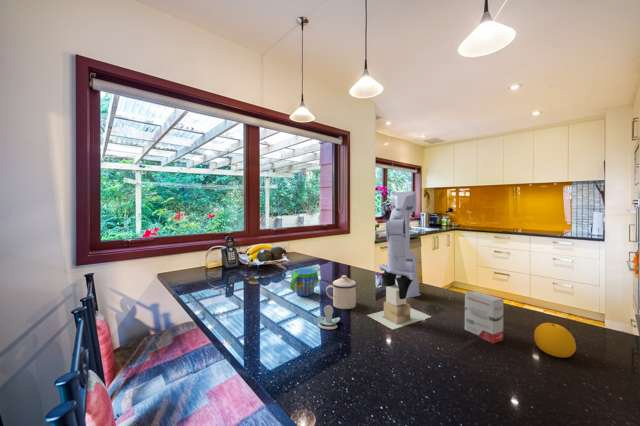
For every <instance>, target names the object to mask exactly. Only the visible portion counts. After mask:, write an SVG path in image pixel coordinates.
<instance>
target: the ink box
mask: <svg viewBox="0 0 640 426" xmlns="http://www.w3.org/2000/svg"><path fill="white" fill-rule="evenodd" d="M464 330H465V331H468V332H470V333H472V334H474V335H476V337H477V338H479V339H481V340H484V341H485V342H488V343H491V344H496V343H499V342H502V341H504V299H503V298H500V297H496V296H494V295H489V294H486V293H482V292H479V291H476V290H474V291H469V292H468V291H467V292H465V293H464Z"/></svg>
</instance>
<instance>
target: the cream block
mask: <svg viewBox="0 0 640 426" xmlns="http://www.w3.org/2000/svg"><path fill="white" fill-rule="evenodd" d="M385 302H388V303H390V304H392V305H395V306H399V305H402V304H406V303H407V298H405V299H400V297H399V287H398V285H396V284H395V285H393V286H388V287H386V286H385Z"/></svg>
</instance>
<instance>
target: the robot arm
mask: <svg viewBox="0 0 640 426" xmlns="http://www.w3.org/2000/svg"><path fill="white" fill-rule="evenodd" d="M390 206H391V209H392V210H391V213H390V216H389V220H387V221H386V223H385V233H386V234H385V235H386V242H387V264H385V263H384V264H379V271H383V272H382V273H381V278H383V281H384V283H385V288H386V287H388V286H393V285H398V287H399V297H400V299H405V298H406V299H407V298H414V297H418V296H421V293H420V282H419V281H420V279H419V276H418V275H417V273H418V261H417V256H416V254H415V253H413V252H412V251H411V249H410V248H411V246H410V243H411V241H410V239H411V237H410V236H411V233H410V232H411V231H410V229H411V227H410V226H411V225H410V223H411V219H410V218H411V215H412V213H414V212H416V209H417V192H416V191H414V190H413V191H391V193H390Z"/></svg>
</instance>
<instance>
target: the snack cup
mask: <svg viewBox="0 0 640 426" xmlns="http://www.w3.org/2000/svg"><path fill="white" fill-rule="evenodd" d="M318 282H319V275H318V271H317V270H316V269H314V268H309V267H308V268H298V269H294V270H293V271H292V276H291V280H290V286H289V287H290V290H292V291H295V292H296V294H297V295H298V296H301V297H309V296H312V295H314V292H315V286H316V284H318Z"/></svg>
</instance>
